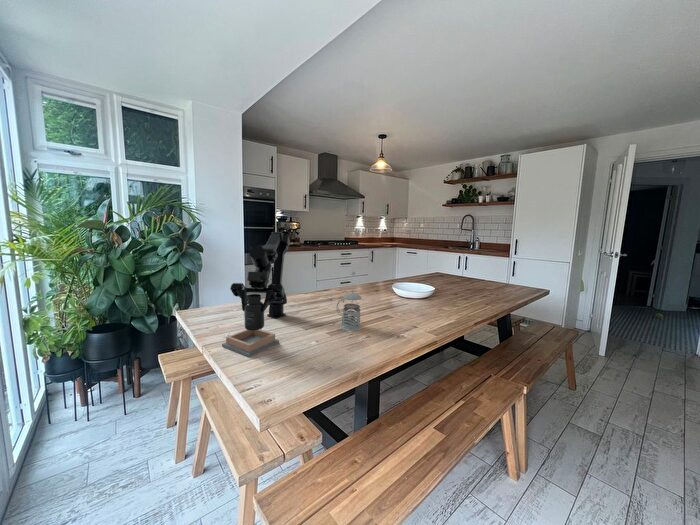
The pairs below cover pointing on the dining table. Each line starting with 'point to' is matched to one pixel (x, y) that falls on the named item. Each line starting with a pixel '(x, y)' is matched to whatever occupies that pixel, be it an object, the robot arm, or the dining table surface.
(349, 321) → the french press
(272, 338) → the dock
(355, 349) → the dining table surface
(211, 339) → the dining table surface
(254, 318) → the supplement bottle
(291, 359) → the dining table surface
